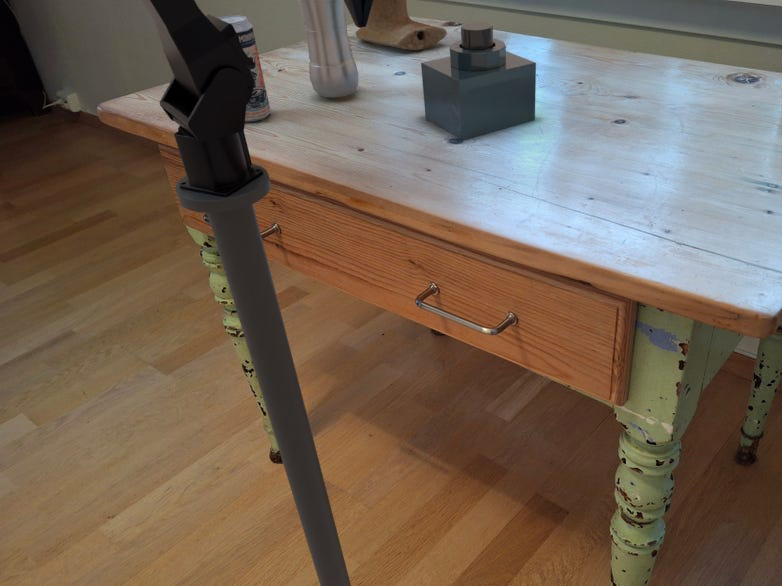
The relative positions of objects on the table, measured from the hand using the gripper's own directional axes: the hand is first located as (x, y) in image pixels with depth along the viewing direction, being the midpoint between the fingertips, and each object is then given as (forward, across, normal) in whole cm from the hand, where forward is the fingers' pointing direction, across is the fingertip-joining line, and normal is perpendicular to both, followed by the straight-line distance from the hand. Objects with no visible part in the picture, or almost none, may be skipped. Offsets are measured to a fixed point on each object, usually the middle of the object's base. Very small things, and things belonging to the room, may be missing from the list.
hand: (360, 26), depth 77 cm
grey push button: (+4, -14, +2) cm, 15 cm away
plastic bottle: (+13, -3, -19) cm, 23 cm away
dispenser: (+13, -14, +2) cm, 19 cm away
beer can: (+13, +9, -18) cm, 24 cm away
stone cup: (+13, -21, -37) cm, 44 cm away
